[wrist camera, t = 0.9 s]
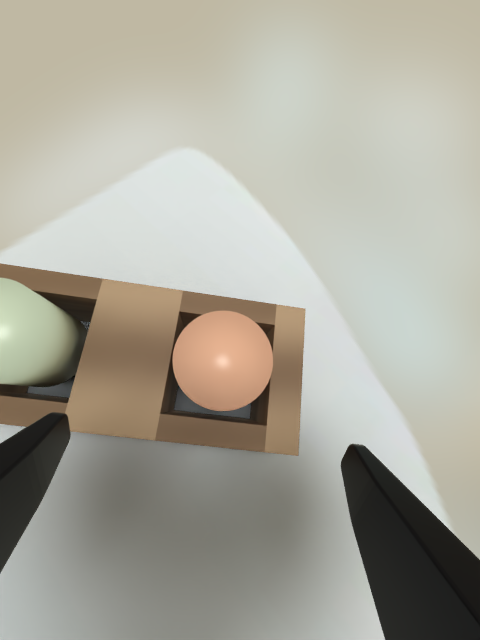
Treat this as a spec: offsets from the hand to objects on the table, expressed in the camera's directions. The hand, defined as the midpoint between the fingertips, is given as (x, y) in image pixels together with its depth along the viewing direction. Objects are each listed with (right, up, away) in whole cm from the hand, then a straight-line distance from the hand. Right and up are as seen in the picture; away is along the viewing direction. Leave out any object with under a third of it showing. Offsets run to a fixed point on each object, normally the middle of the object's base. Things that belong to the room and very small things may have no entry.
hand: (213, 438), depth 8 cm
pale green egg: (-10, +2, +8) cm, 13 cm away
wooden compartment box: (-6, 0, +12) cm, 13 cm away
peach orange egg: (0, +1, +9) cm, 9 cm away
